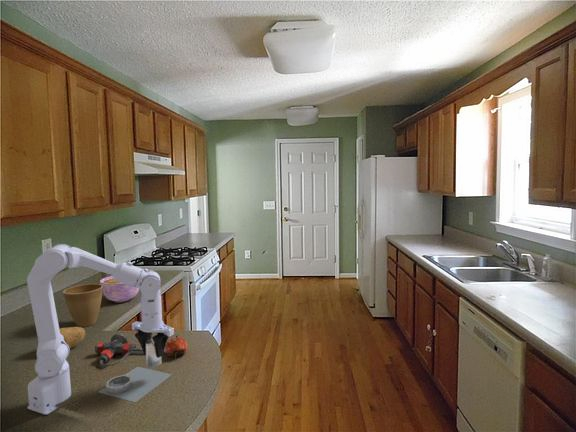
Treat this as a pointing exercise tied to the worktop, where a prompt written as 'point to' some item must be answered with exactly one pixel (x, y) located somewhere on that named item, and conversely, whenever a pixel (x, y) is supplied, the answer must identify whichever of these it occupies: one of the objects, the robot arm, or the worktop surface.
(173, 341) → the pomegranate
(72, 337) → the potato
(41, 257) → the robot arm
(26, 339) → the worktop surface
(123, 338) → the valve
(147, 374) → the mounting plate
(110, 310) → the worktop surface
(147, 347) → the duct pipe
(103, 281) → the bowl of food
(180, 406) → the worktop surface
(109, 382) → the collar
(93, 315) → the plant pot
